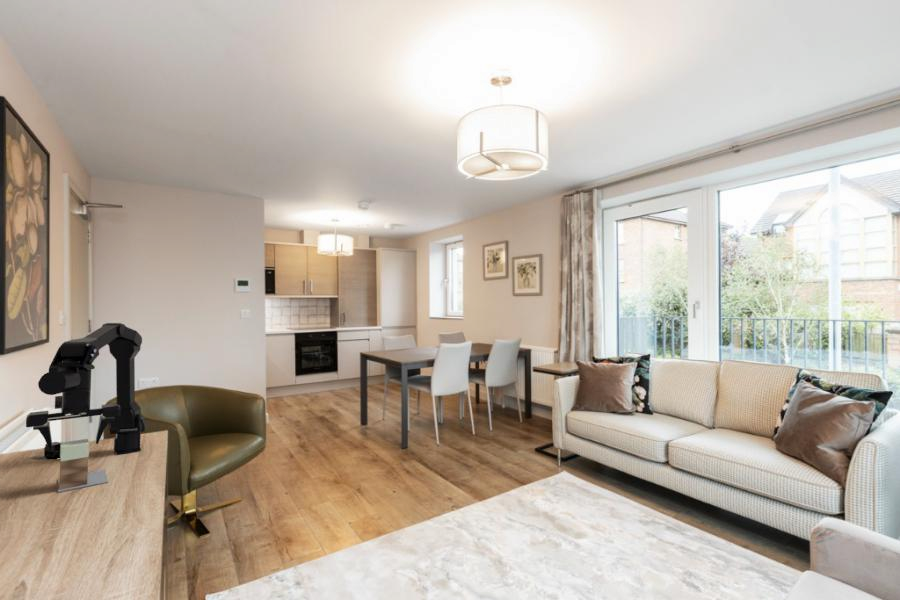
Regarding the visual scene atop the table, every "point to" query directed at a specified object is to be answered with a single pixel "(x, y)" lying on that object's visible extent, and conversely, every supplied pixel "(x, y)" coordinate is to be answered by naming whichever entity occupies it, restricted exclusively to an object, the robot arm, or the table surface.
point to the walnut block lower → (73, 480)
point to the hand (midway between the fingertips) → (74, 447)
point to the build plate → (51, 454)
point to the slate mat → (90, 480)
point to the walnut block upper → (73, 466)
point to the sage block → (74, 449)
